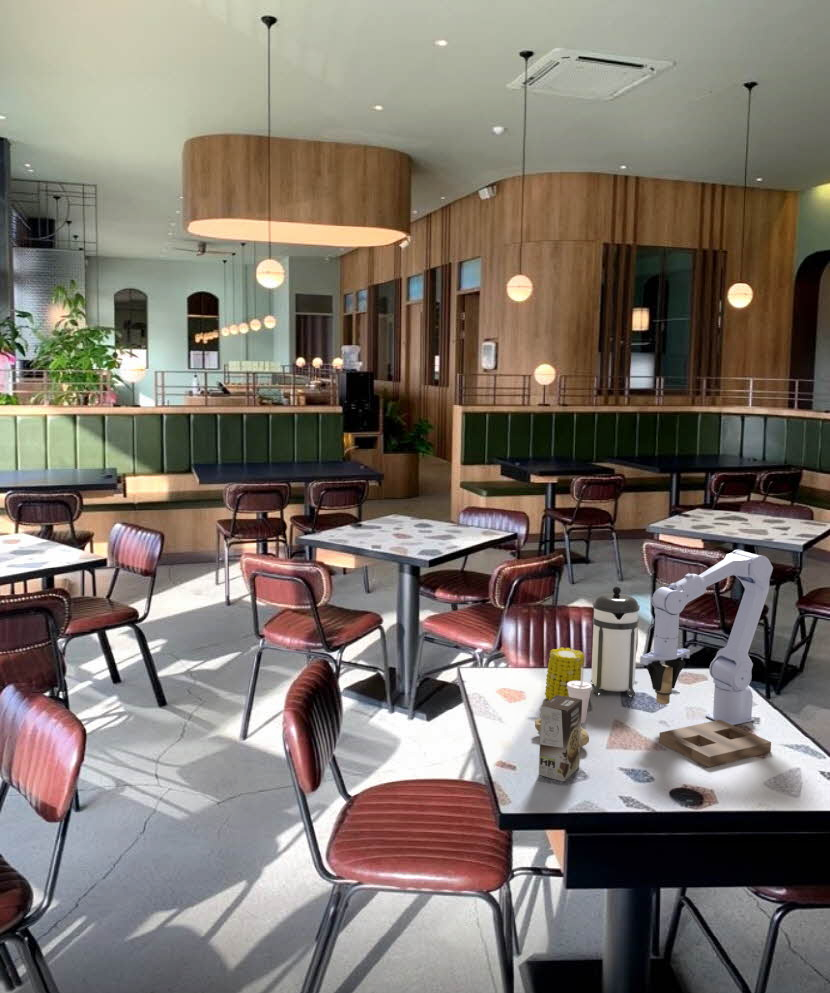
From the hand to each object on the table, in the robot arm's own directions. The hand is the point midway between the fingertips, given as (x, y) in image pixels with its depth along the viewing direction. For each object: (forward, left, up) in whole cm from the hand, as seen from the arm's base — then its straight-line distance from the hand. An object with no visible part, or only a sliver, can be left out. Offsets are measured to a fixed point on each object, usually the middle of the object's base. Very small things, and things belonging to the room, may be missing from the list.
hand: (663, 688), depth 229 cm
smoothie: (+16, -13, -11) cm, 23 cm away
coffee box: (+39, +10, -11) cm, 41 cm away
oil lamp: (+29, -3, -11) cm, 31 cm away
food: (+10, -27, -11) cm, 31 cm away
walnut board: (-3, +15, -10) cm, 18 cm away
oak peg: (0, 0, -3) cm, 3 cm away
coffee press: (-8, -29, -11) cm, 32 cm away
